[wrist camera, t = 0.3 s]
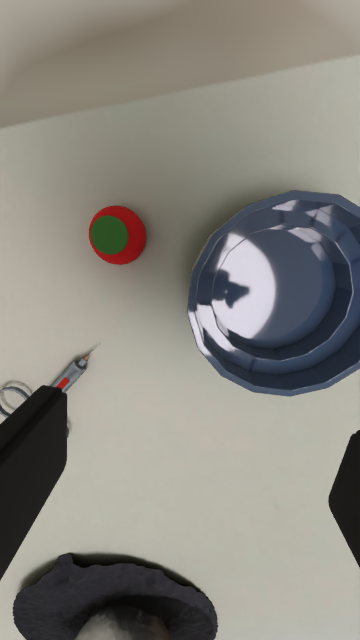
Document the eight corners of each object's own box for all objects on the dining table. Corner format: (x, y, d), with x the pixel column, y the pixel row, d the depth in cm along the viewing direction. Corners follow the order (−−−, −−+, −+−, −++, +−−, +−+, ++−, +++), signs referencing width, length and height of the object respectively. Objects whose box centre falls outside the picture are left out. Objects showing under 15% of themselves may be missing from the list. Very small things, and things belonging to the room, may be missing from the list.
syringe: (136, 367, 24) (132, 376, 23) (27, 477, 29) (17, 491, 27) (69, 309, 23) (59, 314, 21) (-35, 433, 27) (-49, 445, 26)
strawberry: (100, 206, 21) (77, 198, 17) (152, 212, 21) (141, 204, 16) (99, 259, 22) (78, 263, 18) (148, 265, 22) (138, 270, 18)
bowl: (200, 195, 20) (201, 180, 15) (376, 213, 20) (434, 204, 15) (182, 355, 24) (179, 383, 19) (330, 372, 23) (365, 405, 19)
